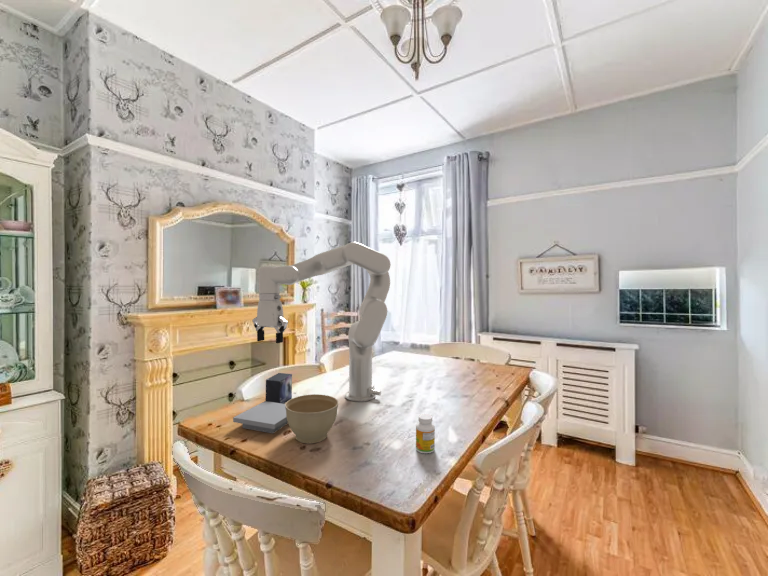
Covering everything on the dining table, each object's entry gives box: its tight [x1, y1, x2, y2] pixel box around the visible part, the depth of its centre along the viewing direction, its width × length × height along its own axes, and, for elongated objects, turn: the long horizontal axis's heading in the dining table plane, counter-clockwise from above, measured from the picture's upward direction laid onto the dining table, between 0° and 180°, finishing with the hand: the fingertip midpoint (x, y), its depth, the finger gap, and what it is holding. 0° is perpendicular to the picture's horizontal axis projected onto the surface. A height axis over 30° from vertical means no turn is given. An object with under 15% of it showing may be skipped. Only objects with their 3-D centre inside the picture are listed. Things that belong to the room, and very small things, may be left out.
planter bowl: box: [285, 393, 339, 444], centre depth 107 cm, size 16×16×11 cm
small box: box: [265, 372, 293, 404], centre depth 137 cm, size 11×6×10 cm, turn 168°
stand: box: [232, 400, 289, 434], centre depth 117 cm, size 16×16×4 cm
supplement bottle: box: [415, 413, 436, 454], centre depth 100 cm, size 5×5×10 cm
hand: (270, 341), depth 134 cm, fingers open, 9 cm apart
